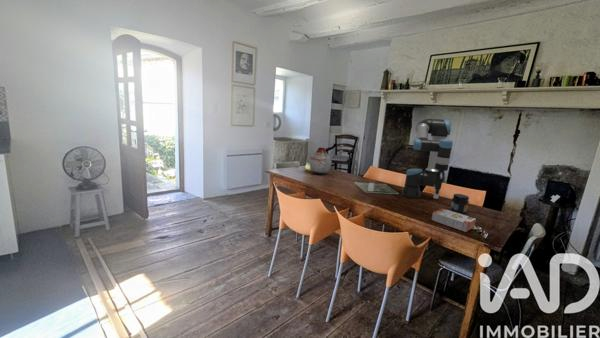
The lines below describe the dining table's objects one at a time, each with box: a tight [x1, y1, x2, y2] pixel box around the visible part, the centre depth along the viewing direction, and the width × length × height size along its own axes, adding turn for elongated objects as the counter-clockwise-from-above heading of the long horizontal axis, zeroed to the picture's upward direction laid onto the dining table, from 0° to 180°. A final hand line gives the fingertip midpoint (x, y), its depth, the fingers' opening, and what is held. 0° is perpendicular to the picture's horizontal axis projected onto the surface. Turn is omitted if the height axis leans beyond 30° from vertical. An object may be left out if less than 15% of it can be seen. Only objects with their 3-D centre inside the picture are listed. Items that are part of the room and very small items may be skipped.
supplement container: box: [450, 193, 470, 215], centre depth 191 cm, size 10×10×12 cm
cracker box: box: [431, 208, 477, 233], centre depth 167 cm, size 14×6×21 cm
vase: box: [309, 147, 332, 176], centre depth 278 cm, size 23×23×28 cm
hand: (435, 198), depth 175 cm, fingers closed
